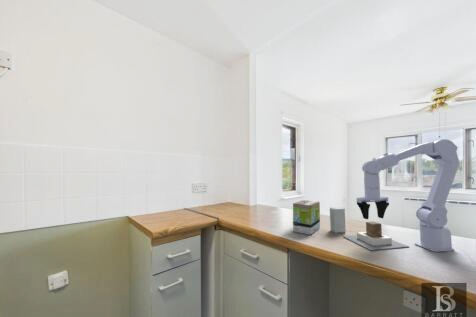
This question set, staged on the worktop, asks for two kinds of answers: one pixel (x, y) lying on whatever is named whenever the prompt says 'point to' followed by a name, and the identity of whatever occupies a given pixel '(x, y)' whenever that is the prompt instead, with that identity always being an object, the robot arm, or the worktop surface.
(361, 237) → the socket board
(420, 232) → the robot arm
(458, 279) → the worktop surface
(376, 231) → the walnut peg
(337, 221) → the skincare box
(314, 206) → the tea box
